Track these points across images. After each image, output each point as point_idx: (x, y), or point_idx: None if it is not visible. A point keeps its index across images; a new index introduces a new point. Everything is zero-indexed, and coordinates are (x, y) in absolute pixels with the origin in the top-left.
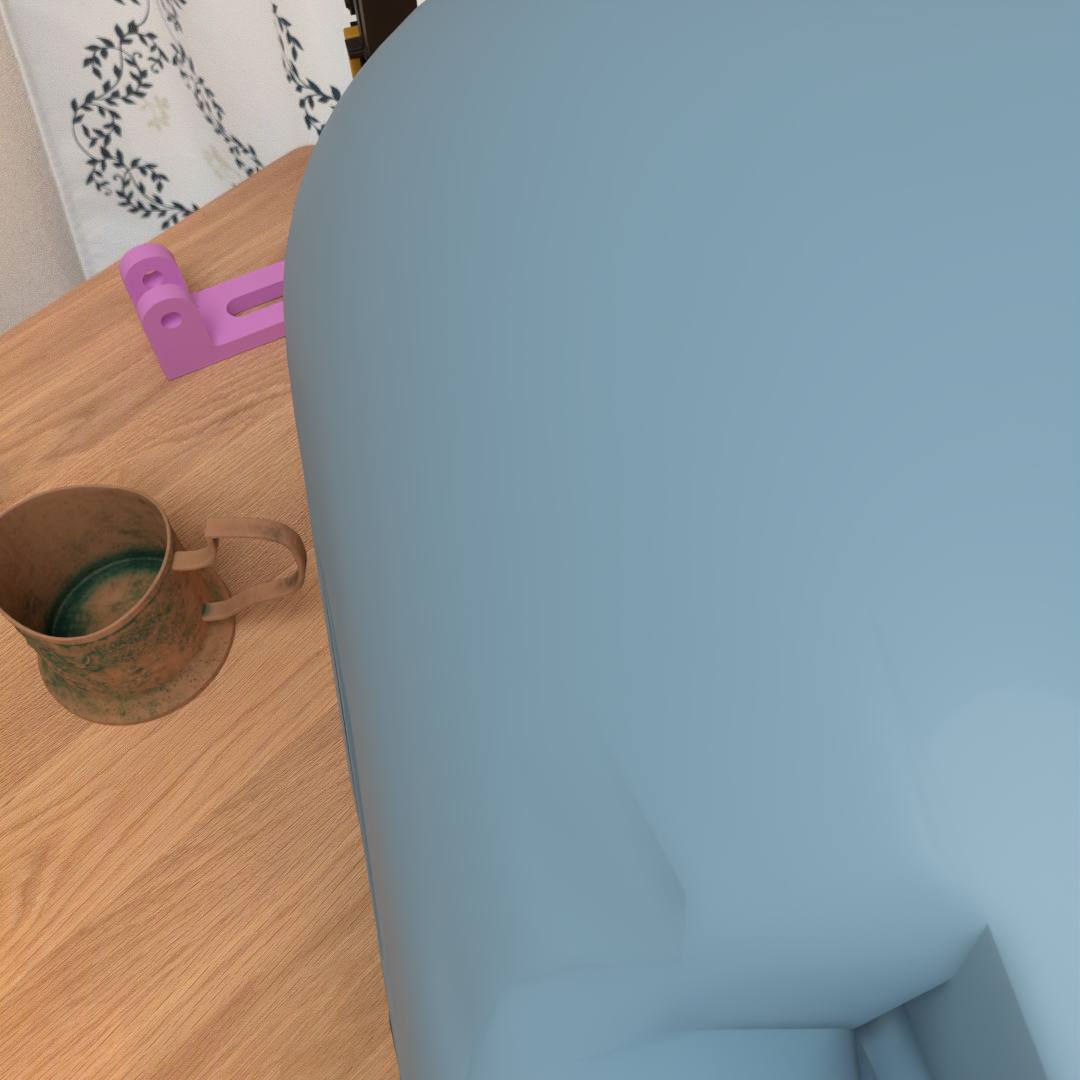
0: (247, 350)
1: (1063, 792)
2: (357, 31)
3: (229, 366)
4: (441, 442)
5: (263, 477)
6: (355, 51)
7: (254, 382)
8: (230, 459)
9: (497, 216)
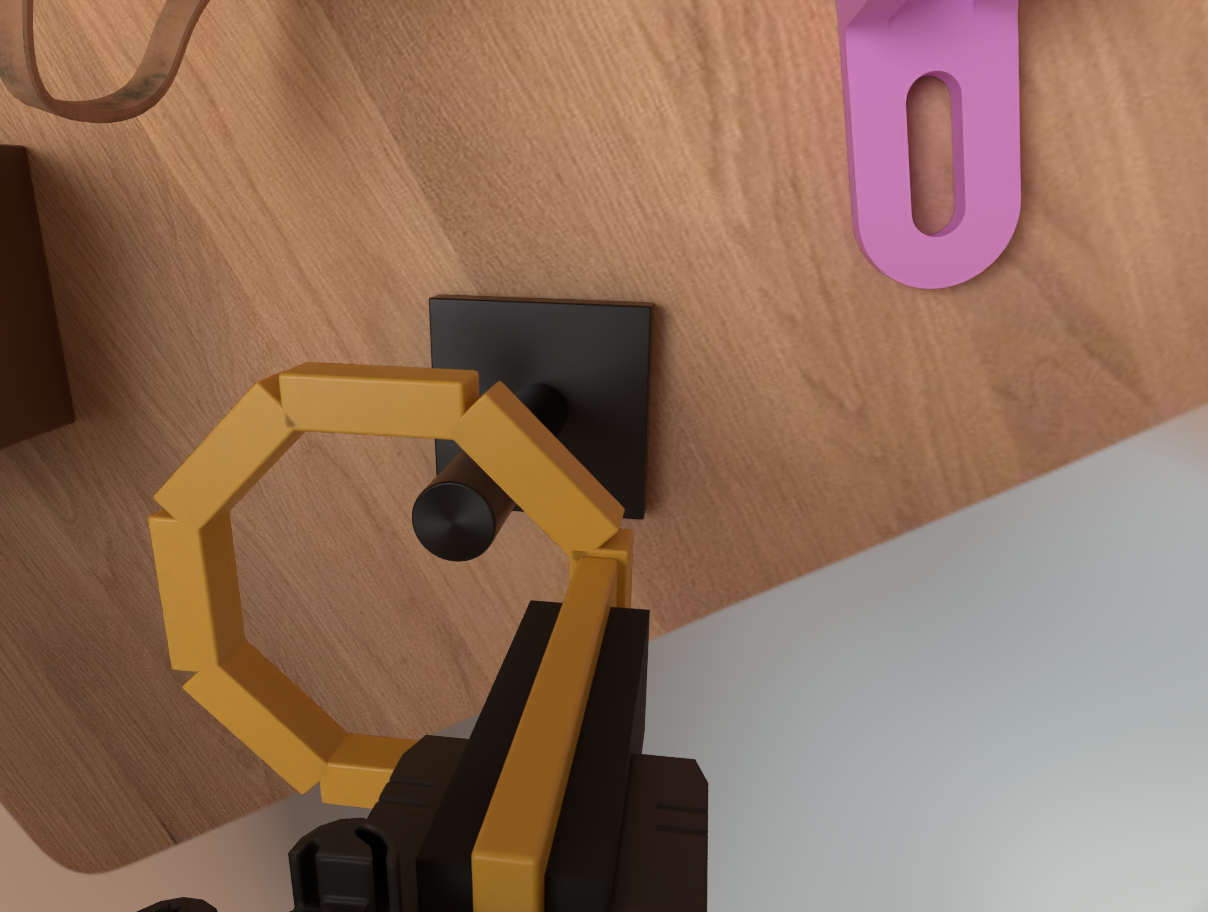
0: (843, 96)
1: None
2: (494, 900)
3: (819, 53)
4: None
5: (546, 74)
6: (295, 877)
7: (761, 96)
8: (602, 20)
9: None
